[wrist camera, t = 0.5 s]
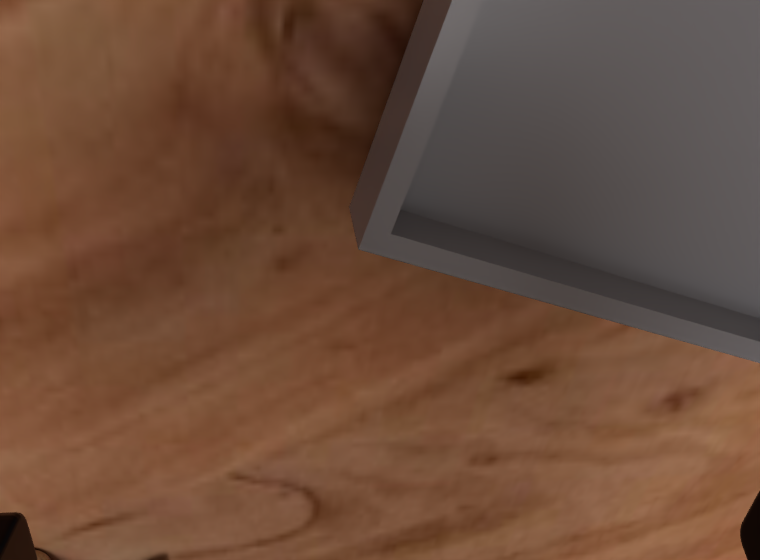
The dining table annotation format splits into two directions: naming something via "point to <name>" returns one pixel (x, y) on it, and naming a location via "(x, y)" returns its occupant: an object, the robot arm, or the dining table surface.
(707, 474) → the dining table surface
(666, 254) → the grey footed tray
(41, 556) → the lion figurine
